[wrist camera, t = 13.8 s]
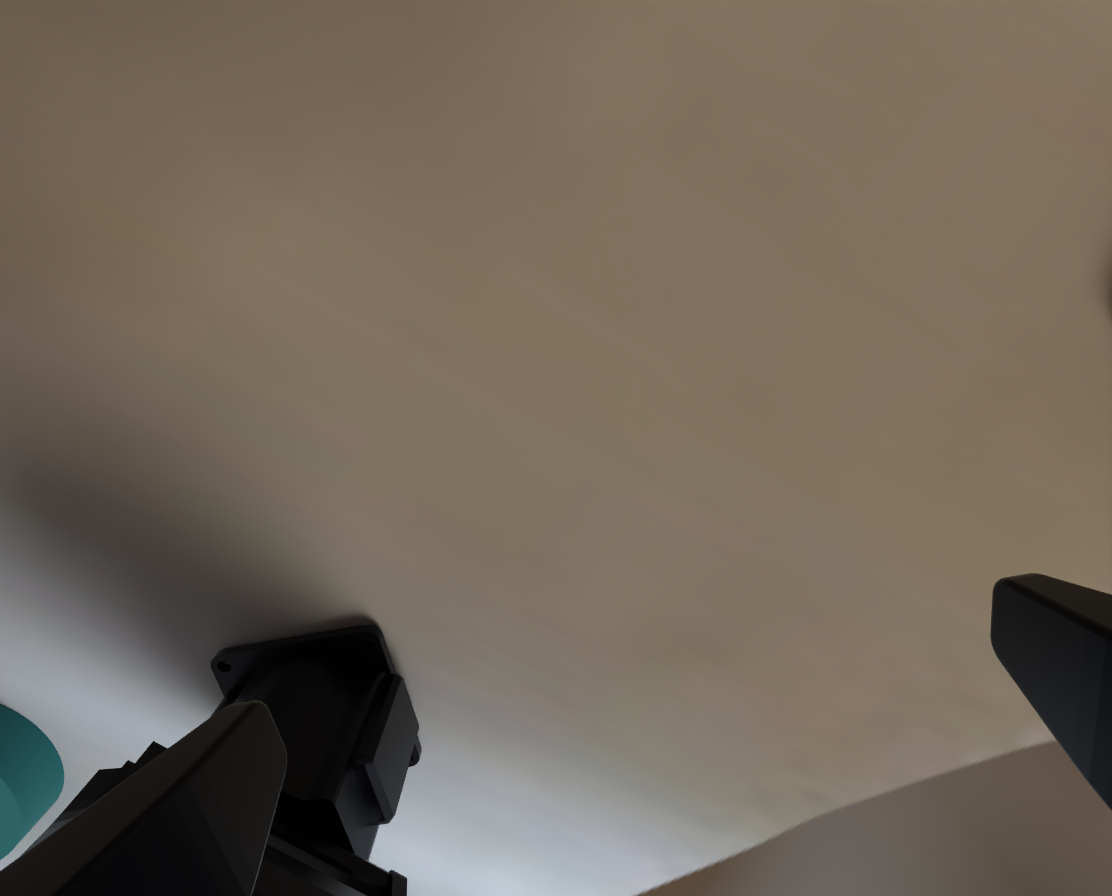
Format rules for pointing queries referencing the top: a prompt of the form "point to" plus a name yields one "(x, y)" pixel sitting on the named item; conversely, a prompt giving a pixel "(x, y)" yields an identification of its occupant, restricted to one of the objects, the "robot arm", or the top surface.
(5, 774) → the bracket
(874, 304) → the top surface
